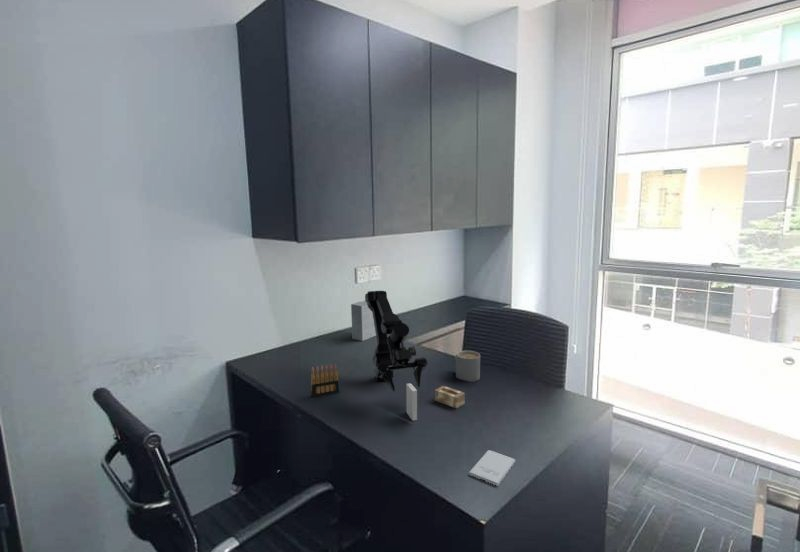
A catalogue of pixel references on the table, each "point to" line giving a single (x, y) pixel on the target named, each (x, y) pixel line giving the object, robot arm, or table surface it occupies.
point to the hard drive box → (362, 321)
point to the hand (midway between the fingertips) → (406, 389)
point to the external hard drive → (492, 467)
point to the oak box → (450, 396)
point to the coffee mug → (468, 365)
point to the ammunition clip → (324, 381)
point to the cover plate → (411, 401)
